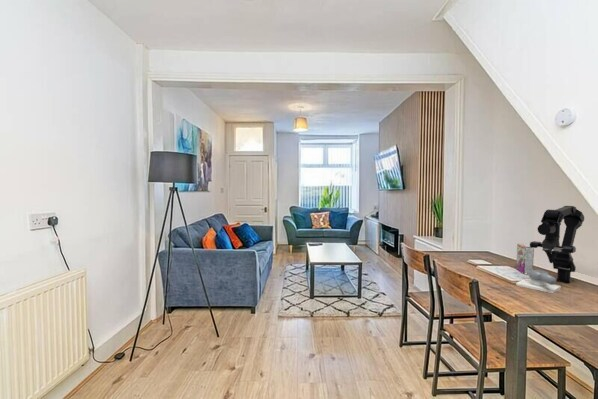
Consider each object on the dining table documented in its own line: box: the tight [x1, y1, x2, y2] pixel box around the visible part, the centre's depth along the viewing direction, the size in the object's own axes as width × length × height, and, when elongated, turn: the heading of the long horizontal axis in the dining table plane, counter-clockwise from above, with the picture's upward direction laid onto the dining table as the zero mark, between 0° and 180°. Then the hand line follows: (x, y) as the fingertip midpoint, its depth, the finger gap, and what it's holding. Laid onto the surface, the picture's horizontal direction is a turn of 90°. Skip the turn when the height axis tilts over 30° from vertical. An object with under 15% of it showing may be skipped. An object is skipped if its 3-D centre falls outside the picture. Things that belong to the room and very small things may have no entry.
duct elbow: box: [528, 268, 557, 285], centre depth 170 cm, size 15×8×4 cm, turn 173°
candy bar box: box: [515, 243, 535, 275], centre depth 202 cm, size 11×5×16 cm, turn 168°
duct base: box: [515, 278, 562, 294], centre depth 174 cm, size 13×16×4 cm
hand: (551, 263), depth 176 cm, fingers closed
